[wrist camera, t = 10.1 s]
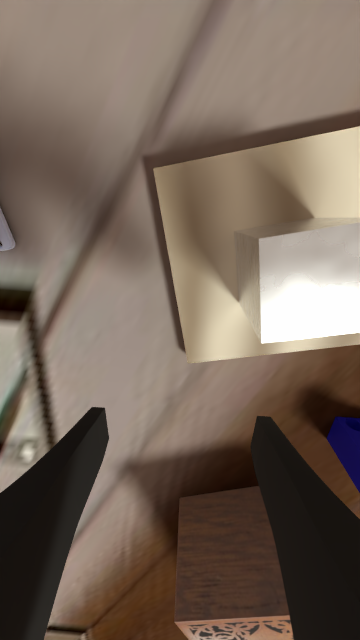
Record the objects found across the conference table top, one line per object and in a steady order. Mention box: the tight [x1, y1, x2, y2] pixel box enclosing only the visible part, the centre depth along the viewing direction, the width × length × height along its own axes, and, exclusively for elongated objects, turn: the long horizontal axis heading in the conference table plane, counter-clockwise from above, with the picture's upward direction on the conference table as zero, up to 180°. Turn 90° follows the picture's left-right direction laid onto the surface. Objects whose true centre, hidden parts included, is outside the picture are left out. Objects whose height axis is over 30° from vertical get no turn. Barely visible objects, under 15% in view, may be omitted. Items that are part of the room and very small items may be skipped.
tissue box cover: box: [175, 486, 294, 640], centre depth 28 cm, size 26×14×10 cm, turn 18°
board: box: [153, 126, 360, 363], centre depth 16 cm, size 14×14×1 cm
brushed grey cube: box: [234, 218, 360, 343], centre depth 13 cm, size 5×5×6 cm
